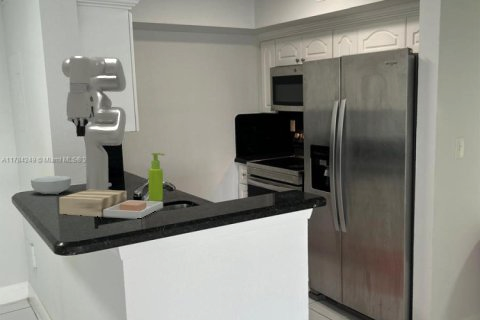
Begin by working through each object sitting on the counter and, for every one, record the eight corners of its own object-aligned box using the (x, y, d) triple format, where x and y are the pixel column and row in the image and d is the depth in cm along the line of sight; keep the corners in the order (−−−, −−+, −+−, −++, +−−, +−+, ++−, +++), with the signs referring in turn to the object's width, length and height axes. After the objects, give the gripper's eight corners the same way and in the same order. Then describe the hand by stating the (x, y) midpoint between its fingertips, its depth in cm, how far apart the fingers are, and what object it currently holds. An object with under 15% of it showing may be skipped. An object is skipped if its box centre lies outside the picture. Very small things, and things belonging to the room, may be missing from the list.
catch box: (129, 206, 175) (129, 200, 175) (162, 208, 172) (162, 201, 172) (103, 216, 156) (103, 209, 156) (141, 219, 153) (141, 211, 153)
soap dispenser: (162, 201, 186) (161, 153, 185) (146, 200, 188) (146, 153, 186) (167, 199, 192) (167, 152, 190) (151, 198, 193) (151, 152, 192)
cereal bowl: (36, 191, 210) (35, 176, 209) (73, 190, 213) (73, 175, 213) (27, 197, 193) (26, 181, 193) (67, 196, 197) (67, 180, 196)
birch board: (89, 204, 179) (89, 189, 178) (126, 206, 175) (126, 191, 175) (59, 214, 159) (59, 197, 159) (100, 216, 156) (100, 199, 155)
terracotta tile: (146, 202, 166) (146, 210, 166) (129, 201, 167) (129, 208, 168) (137, 205, 159) (137, 213, 159) (119, 204, 161) (119, 212, 161)
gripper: (102, 89, 175) (103, 136, 177) (68, 89, 178) (69, 135, 180) (92, 88, 168) (93, 137, 170) (56, 88, 171) (58, 136, 173)
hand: (80, 136), depth 175 cm, fingers closed
